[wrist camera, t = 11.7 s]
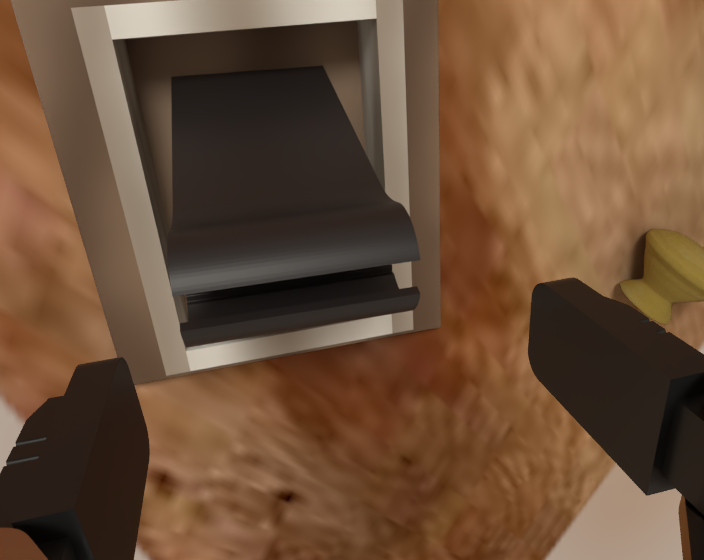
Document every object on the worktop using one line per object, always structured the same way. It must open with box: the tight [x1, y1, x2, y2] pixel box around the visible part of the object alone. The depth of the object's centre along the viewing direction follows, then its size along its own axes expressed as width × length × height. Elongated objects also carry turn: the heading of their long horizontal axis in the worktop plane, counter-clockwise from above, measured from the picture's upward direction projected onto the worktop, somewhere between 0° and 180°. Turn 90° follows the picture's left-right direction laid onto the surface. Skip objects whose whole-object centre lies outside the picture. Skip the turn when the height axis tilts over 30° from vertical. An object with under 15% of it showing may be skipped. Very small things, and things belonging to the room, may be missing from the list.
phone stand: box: [167, 65, 421, 348], centre depth 19 cm, size 9×6×12 cm, turn 3°
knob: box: [620, 229, 704, 324], centre depth 30 cm, size 5×5×5 cm
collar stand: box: [11, 0, 441, 385], centre depth 23 cm, size 16×18×4 cm
